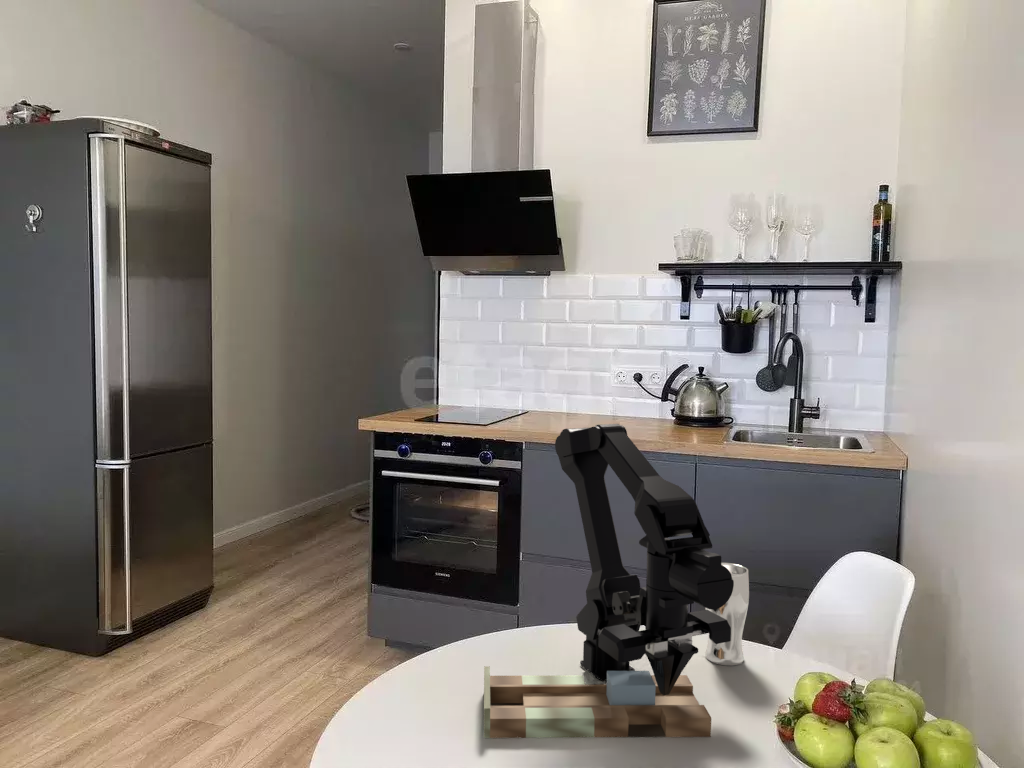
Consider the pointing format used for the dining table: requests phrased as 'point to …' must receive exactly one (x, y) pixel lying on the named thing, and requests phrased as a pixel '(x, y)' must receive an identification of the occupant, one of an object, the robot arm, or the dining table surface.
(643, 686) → the block
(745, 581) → the beer glass
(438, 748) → the dining table surface
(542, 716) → the tray
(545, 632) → the dining table surface
